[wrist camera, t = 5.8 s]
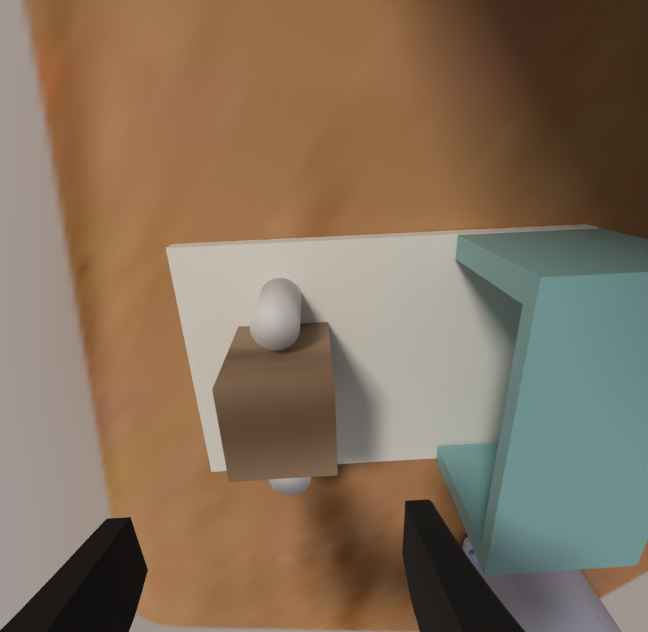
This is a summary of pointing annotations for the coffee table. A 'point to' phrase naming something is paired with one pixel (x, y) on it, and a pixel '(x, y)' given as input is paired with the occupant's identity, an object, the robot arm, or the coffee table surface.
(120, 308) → the coffee table surface
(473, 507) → the cover
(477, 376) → the base plate
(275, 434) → the block
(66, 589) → the robot arm
